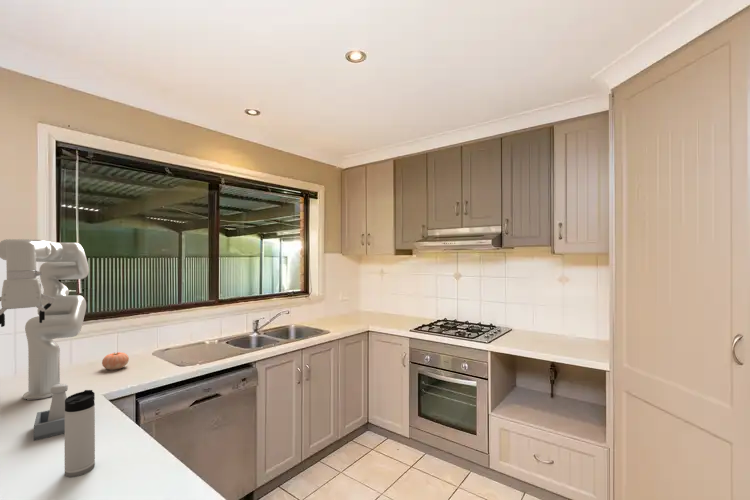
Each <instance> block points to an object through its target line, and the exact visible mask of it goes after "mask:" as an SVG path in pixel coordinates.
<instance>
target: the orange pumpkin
mask: <svg viewBox="0 0 750 500" xmlns="http://www.w3.org/2000/svg"><path fill="white" fill-rule="evenodd" d="M129 360H130V359H129V355H128V354H127V353H125V352H121V351H120V352H119V351H117V352H112V353H108V354H107V355H106V356H104V357H103V358H102V360H101V364H102V367H103V368H104V369H106V370H108V371H115V370H120V369H122V368H124V367H126V365H128V363H129Z"/></svg>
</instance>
